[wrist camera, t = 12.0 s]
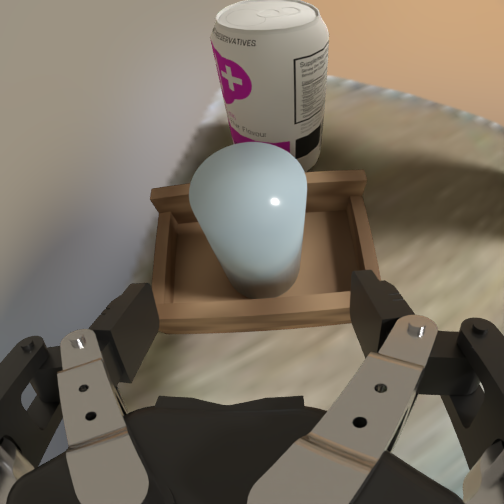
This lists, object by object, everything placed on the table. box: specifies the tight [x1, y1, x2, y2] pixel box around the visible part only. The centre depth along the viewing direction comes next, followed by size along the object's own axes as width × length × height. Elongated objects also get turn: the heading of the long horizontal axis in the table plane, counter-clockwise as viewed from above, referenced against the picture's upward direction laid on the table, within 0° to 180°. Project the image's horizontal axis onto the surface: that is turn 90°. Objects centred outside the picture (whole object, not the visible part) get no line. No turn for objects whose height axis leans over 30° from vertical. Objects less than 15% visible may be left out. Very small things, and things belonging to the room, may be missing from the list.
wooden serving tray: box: [150, 170, 381, 334], centre depth 22 cm, size 16×10×5 cm, turn 92°
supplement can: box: [210, 0, 329, 172], centre depth 23 cm, size 8×8×15 cm
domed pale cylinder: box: [189, 142, 307, 299], centre depth 19 cm, size 6×6×10 cm
